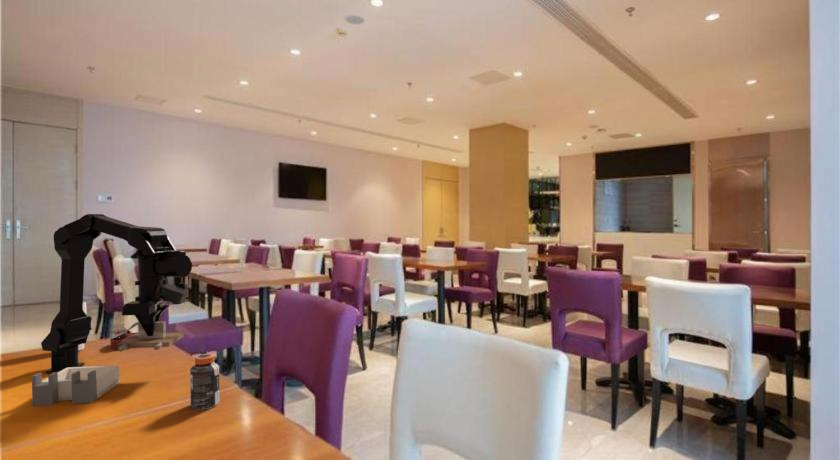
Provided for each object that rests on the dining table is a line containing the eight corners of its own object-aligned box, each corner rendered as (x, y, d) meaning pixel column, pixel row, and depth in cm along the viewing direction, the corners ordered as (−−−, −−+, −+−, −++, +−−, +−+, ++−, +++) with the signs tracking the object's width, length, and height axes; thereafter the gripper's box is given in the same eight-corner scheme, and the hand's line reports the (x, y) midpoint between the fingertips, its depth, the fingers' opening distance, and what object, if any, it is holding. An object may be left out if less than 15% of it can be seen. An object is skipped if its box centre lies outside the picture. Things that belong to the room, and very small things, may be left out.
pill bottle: (225, 401, 102) (225, 353, 101) (205, 412, 96) (204, 361, 96) (205, 397, 104) (204, 350, 103) (184, 408, 98) (183, 358, 98)
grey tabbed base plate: (136, 337, 119) (136, 318, 119) (183, 336, 121) (183, 317, 121) (111, 351, 107) (111, 330, 107) (164, 349, 109) (164, 328, 109)
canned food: (127, 363, 141) (112, 340, 136) (110, 355, 146) (95, 332, 141) (159, 340, 149) (146, 317, 144) (143, 333, 154) (130, 311, 149)
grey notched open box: (67, 385, 111) (67, 358, 110) (119, 382, 113) (119, 356, 112) (32, 406, 99) (31, 376, 98) (91, 402, 100) (90, 373, 100)
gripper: (169, 280, 107) (170, 344, 107) (196, 271, 125) (197, 325, 126) (119, 281, 105) (120, 345, 106) (154, 271, 123) (155, 326, 124)
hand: (152, 335), depth 115 cm, fingers closed on grey tabbed base plate
